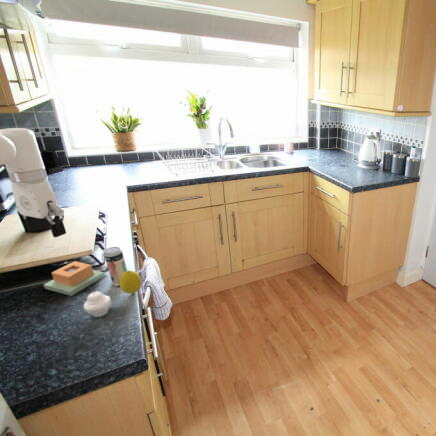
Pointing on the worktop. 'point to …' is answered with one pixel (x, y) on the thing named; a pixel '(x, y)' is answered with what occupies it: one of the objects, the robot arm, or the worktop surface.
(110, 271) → the beer can
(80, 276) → the orange block with hole
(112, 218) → the worktop surface
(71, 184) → the worktop surface
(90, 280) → the board
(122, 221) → the worktop surface
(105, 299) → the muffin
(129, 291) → the lemon
